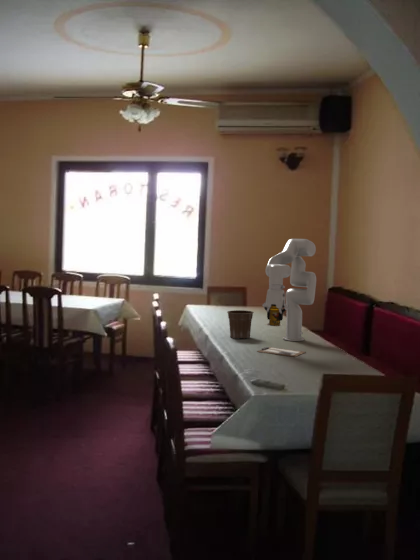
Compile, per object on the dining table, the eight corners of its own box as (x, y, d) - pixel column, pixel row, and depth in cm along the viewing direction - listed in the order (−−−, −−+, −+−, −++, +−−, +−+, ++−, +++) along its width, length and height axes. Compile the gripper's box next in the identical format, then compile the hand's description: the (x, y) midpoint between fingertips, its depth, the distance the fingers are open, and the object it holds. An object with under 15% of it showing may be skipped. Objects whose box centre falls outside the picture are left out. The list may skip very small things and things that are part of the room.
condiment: (277, 326, 311) (278, 304, 310) (263, 325, 316) (264, 303, 315) (282, 325, 318) (283, 303, 317) (269, 323, 322) (269, 302, 321)
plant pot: (222, 338, 351) (222, 312, 350) (233, 334, 365) (234, 309, 364) (246, 340, 343) (247, 314, 342) (256, 336, 358) (257, 311, 356)
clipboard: (269, 347, 324) (269, 345, 323) (305, 352, 312) (305, 350, 312) (257, 351, 311) (257, 349, 311) (295, 357, 299) (295, 354, 299)
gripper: (293, 288, 313) (291, 320, 315) (264, 286, 322) (263, 317, 324) (287, 289, 307) (286, 322, 308) (258, 286, 316) (257, 319, 317)
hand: (274, 319), depth 316 cm, fingers closed on condiment, 6 cm apart
